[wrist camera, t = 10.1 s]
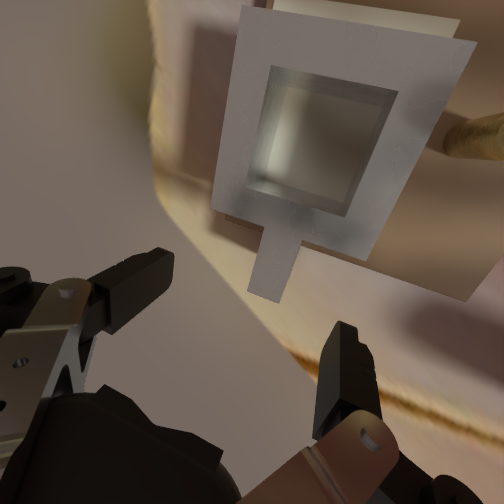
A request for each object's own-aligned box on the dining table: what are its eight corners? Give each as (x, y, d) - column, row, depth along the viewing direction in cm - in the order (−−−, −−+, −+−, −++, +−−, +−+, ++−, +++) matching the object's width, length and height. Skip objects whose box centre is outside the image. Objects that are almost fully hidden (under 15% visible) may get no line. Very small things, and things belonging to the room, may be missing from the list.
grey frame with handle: (266, 42, 15) (241, 4, 11) (436, 74, 13) (478, 41, 9) (224, 250, 22) (199, 272, 18) (333, 290, 20) (332, 325, 16)
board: (279, -29, 15) (274, -44, 14) (667, 19, 11) (704, 5, 10) (230, 216, 22) (224, 219, 21) (458, 293, 18) (466, 302, 17)
